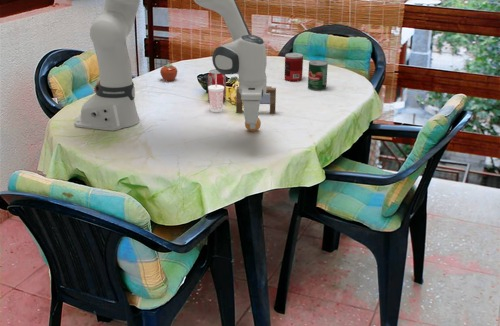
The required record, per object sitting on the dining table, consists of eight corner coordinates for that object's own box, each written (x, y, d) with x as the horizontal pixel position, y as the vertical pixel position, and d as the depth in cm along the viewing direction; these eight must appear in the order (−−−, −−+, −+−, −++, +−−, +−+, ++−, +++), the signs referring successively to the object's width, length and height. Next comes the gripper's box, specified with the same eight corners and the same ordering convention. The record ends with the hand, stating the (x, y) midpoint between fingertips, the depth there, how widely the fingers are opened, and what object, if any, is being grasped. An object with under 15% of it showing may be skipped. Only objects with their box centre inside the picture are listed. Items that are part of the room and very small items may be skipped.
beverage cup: (209, 113, 231) (208, 76, 225) (207, 107, 237) (206, 72, 231) (225, 112, 232) (225, 75, 226) (223, 106, 238) (222, 71, 232)
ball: (244, 133, 212) (244, 118, 210) (245, 127, 217) (245, 112, 215) (260, 134, 212) (260, 118, 209) (261, 128, 217) (261, 113, 214)
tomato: (164, 83, 266) (163, 65, 263) (158, 79, 272) (157, 61, 268) (180, 81, 269) (179, 63, 266) (173, 77, 275) (173, 59, 272)
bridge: (275, 113, 231) (275, 90, 227) (236, 112, 232) (236, 88, 228) (275, 111, 234) (275, 87, 230) (236, 110, 234) (236, 86, 231)
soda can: (223, 104, 241) (223, 74, 236) (206, 103, 242) (205, 73, 237) (227, 98, 247) (227, 69, 242) (210, 97, 248) (210, 68, 243)
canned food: (305, 78, 274) (306, 54, 270) (296, 83, 268) (297, 58, 264) (290, 76, 278) (290, 51, 273) (281, 80, 272) (281, 55, 267)
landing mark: (241, 103, 242) (241, 102, 242) (244, 93, 253) (244, 93, 253) (272, 104, 241) (272, 103, 241) (273, 94, 252) (273, 94, 252)
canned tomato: (326, 85, 265) (327, 60, 260) (326, 91, 257) (328, 65, 253) (307, 85, 265) (309, 59, 261) (307, 90, 258) (308, 64, 254)
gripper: (244, 77, 208) (245, 116, 214) (240, 96, 189) (241, 138, 195) (263, 78, 208) (263, 117, 213) (261, 96, 189) (261, 138, 195)
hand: (252, 127), depth 204 cm, fingers closed
